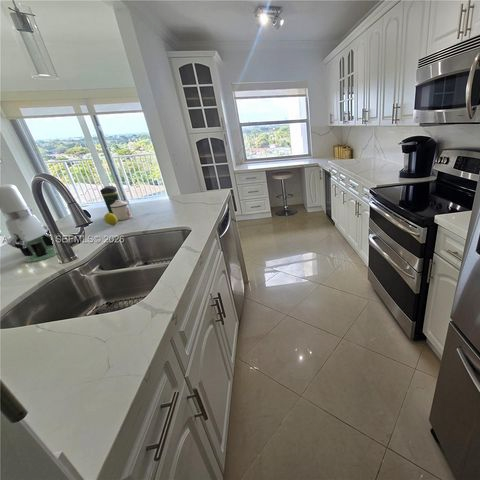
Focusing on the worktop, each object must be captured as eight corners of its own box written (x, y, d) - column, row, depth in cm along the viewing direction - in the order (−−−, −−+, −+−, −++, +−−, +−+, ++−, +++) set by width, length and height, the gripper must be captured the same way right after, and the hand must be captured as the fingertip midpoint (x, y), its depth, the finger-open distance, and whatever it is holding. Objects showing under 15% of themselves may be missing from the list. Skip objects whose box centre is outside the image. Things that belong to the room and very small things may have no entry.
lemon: (110, 224, 151) (104, 212, 147) (120, 223, 152) (115, 210, 149) (106, 228, 146) (100, 215, 143) (117, 226, 147) (111, 213, 144)
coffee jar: (124, 215, 166) (113, 187, 158) (109, 218, 163) (97, 189, 155) (126, 211, 174) (116, 184, 166) (112, 213, 171) (101, 186, 163)
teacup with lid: (133, 218, 160) (126, 200, 155) (115, 221, 155) (107, 203, 150) (132, 213, 169) (125, 196, 164) (115, 216, 164) (108, 199, 159)
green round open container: (21, 256, 118) (11, 239, 114) (31, 247, 127) (21, 231, 123) (53, 249, 123) (44, 233, 119) (60, 241, 132) (51, 226, 128)
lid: (20, 266, 109) (10, 251, 106) (31, 255, 118) (22, 241, 115) (56, 258, 114) (48, 244, 111) (63, 248, 123) (56, 235, 120)
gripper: (30, 208, 115) (50, 242, 123) (-15, 222, 100) (11, 260, 107) (46, 207, 115) (65, 241, 123) (4, 221, 100) (28, 259, 107)
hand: (40, 250), depth 115 cm, fingers open, 9 cm apart
